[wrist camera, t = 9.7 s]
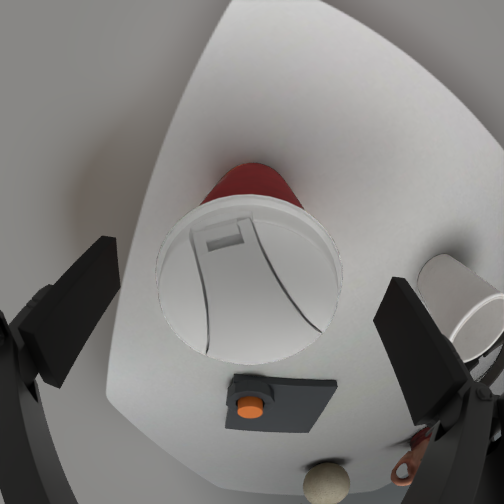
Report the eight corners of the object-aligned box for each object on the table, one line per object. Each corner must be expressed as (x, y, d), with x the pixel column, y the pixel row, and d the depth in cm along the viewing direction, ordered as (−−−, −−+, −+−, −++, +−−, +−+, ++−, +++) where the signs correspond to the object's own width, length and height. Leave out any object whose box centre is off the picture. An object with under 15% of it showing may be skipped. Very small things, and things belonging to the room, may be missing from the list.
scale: (222, 422, 42) (220, 437, 39) (230, 370, 35) (228, 389, 32) (307, 427, 42) (309, 441, 40) (337, 377, 36) (341, 394, 33)
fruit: (302, 459, 50) (306, 518, 37) (351, 454, 50) (361, 509, 37) (294, 472, 55) (297, 524, 42) (338, 469, 55) (345, 518, 42)
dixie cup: (474, 259, 27) (522, 307, 18) (436, 312, 31) (472, 368, 22) (435, 230, 26) (491, 282, 17) (393, 293, 29) (431, 358, 20)
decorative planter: (379, 456, 53) (389, 501, 40) (386, 438, 47) (399, 491, 35) (448, 431, 50) (463, 472, 38) (463, 409, 45) (482, 455, 32)
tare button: (236, 406, 35) (236, 417, 33) (239, 394, 33) (238, 405, 32) (260, 408, 35) (260, 419, 33) (264, 396, 34) (264, 407, 32)
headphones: (442, 404, 28) (531, 328, 27) (418, 369, 35) (504, 305, 34) (432, 443, 35) (509, 383, 34) (415, 415, 42) (490, 362, 41)
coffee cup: (192, 164, 23) (112, 241, 10) (288, 138, 22) (335, 180, 9) (222, 250, 27) (193, 383, 14) (309, 229, 26) (356, 354, 13)
